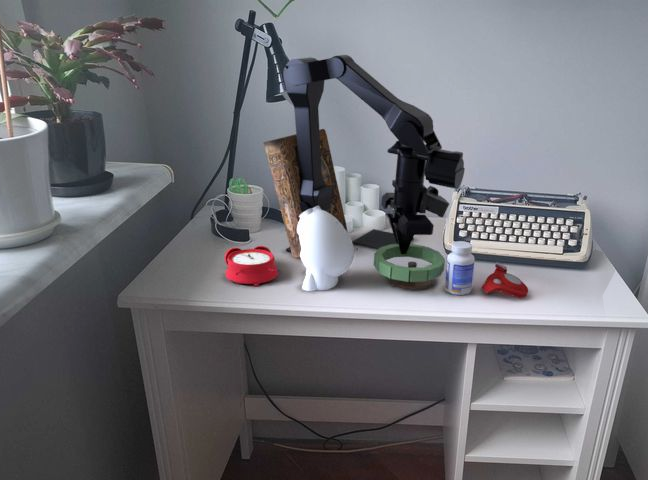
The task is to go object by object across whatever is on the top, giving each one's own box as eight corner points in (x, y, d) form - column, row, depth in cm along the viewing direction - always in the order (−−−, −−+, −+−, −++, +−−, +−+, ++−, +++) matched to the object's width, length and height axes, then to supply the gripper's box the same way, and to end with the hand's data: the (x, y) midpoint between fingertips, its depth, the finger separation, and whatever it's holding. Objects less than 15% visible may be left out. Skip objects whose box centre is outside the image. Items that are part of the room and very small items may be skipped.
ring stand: (381, 283, 128) (381, 265, 127) (401, 269, 136) (402, 252, 134) (422, 293, 125) (423, 275, 123) (440, 278, 132) (441, 260, 131)
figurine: (353, 270, 134) (354, 200, 127) (353, 292, 124) (354, 217, 117) (300, 268, 133) (298, 198, 126) (296, 290, 123) (293, 216, 116)
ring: (360, 269, 126) (360, 258, 125) (396, 248, 137) (397, 238, 136) (422, 288, 121) (424, 277, 119) (455, 265, 132) (456, 254, 130)
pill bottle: (476, 291, 128) (482, 245, 123) (459, 298, 124) (464, 251, 120) (456, 282, 131) (460, 237, 126) (439, 289, 128) (442, 243, 123)
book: (309, 258, 137) (280, 139, 127) (289, 259, 140) (259, 143, 130) (349, 237, 150) (325, 128, 140) (330, 239, 152) (305, 131, 143)
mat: (351, 244, 148) (351, 241, 148) (373, 231, 157) (373, 229, 157) (393, 253, 144) (393, 250, 144) (413, 239, 153) (413, 237, 153)
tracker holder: (540, 290, 127) (505, 288, 121) (529, 308, 129) (495, 307, 123) (505, 257, 134) (470, 254, 128) (495, 275, 136) (461, 272, 130)
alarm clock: (228, 272, 120) (218, 231, 130) (229, 298, 124) (220, 256, 135) (282, 268, 123) (269, 228, 134) (282, 293, 128) (269, 252, 138)
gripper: (463, 193, 120) (452, 269, 128) (433, 167, 136) (425, 236, 144) (407, 192, 117) (399, 270, 125) (383, 165, 133) (378, 236, 140)
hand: (402, 252), depth 134 cm, fingers closed on ring, 2 cm apart
